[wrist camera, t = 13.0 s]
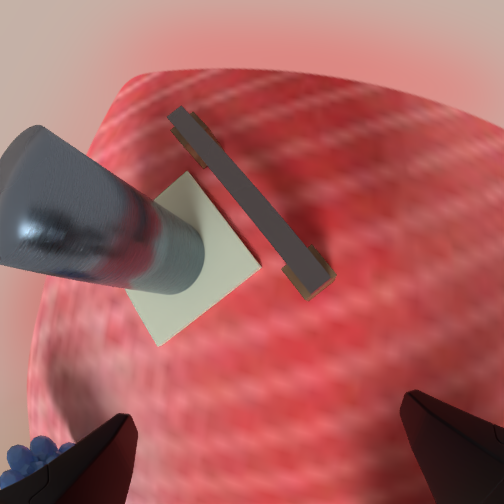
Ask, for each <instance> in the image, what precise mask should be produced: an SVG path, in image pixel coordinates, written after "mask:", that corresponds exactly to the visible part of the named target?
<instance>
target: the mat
mask: <svg viewBox="0 0 504 504" xmlns="http://www.w3.org/2000/svg"><path fill="white" fill-rule="evenodd" d="M153 201H155V202H156V203H158V204H159V205H161V206H162V207H164V208H165V209H167V210H168V211H170V212H172V213H173V214H175V215H176V216H178V217H179V218H181V219H182V220H184V221H185V222H187V223H188V224H190V225H191V226H192V227H194V228H195V229H196V230H197V231H198V233H199V234H200V236H201V238H202V241H203V244H204V249H205V259H204V265H203V268H202V271H201V273H200V275H199V277H198V278H197V280H196V281H195V282H194V283H193V284H192V285H191V286H190V287H189V288H188V289H186V290H185V291H183V292H181V293H178V294H174V295H164V294H157V293H150V292H144V291H137V290H130V289H125V290H126V292H127V294H128V296H129V298H130V300H131V301H132V303H133V305H134V307H135V309H136V311H137V312H138V314H139V316H140V318H141V319H142V321H143V323H144V325H145V326H146V328H147V330H148V331H149V333H150V335H151V336H152V338H153V340H154V341H155V343H156V345H157V346H162V345H163V344H164V343H166V342H167V341H168V340H170V339H171V338H172V337H173V336H175V335H176V334H177V333H179V332H180V331H181V330H183V329H184V328H185V327H186V326H188V325H189V324H190V323H192V322H193V321H194V320H196V319H197V318H198V317H199V316H201V315H202V314H203V313H205V312H206V311H207V310H208V309H210V308H211V307H212V306H214V305H215V304H216V303H217V302H219V301H220V300H221V299H222V298H224V297H225V296H226V295H228V294H229V293H230V292H231V291H233V290H234V289H235V288H236V287H238V286H239V285H240V284H242V283H243V282H244V281H245V280H247V279H248V278H249V277H250V276H252V275H253V274H254V273H255V272H257V271H258V270H259V269H260V268H262V267H261V265H260V264H259V263H258V262H257V260H256V259H255V258H254V256H253V255H252V254H251V252H250V251H249V250H248V249H247V247H246V246H245V245H244V243H243V242H242V241H241V239H240V238H239V237H238V235H237V234H236V233H235V232H234V230H233V229H232V228H231V226H230V225H229V224H228V222H227V221H226V220H225V218H224V217H223V216H222V215H221V213H220V212H219V211H218V209H217V208H216V207H215V205H214V204H213V203H212V201H211V200H210V199H209V198H208V196H207V195H206V194H205V192H204V191H203V190H202V188H201V187H200V186H199V184H198V183H197V182H196V181H195V179H194V178H193V177H192V175H191V174H190V173H189V172H188V171H186V172H185V173H184V174H183V175H181V176H180V177H179V178H178V179H177V180H176V181H175V182H173V183H172V184H171V185H170V186H169V187H168V188H167V189H165V190H164V191H163V192H162V193H161V194H160V195H159V196H158V197H156V198H155V199H154V200H153Z"/></svg>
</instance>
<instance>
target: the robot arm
mask: <svg viewBox="0 0 504 504" xmlns="http://www.w3.org/2000/svg"><path fill="white" fill-rule="evenodd" d="M400 416H401V419H402V422H403V425H404V428H405V431H406V434H407V437H408V440H409V443H410V445H411V448H412V451H413V453H414V455H415V457H416V459H417V461H418V464H419V466H420V468H421V470H422V472H423V474H424V477H425V479H426V481H427V483H428V485H429V488H430V490H431V492H432V494H433V497H434V499H435V501H436V504H504V428H502V427H500V426H497V425H495V424H494V425H493V424H492V423H490V422H488V421H485V420H483V419H481V418H478V417H476V416H474V415H471V414H469V413H467V412H465V411H462V410H460V409H458V408H456V407H453V406H451V405H449V404H447V403H445V402H442V401H440V400H438V399H436V398H434V397H432V396H429V395H427V394H425V393H423V392H421V391H419V390H412V391H408V392H406V393H405V395H404V398H403V401H402V404H401V407H400ZM137 440H138V431H137V429H136V426H135V424H134V421H133V419H132V417H131V415H130V414H124V413H118V414H116V415H115V416H114V417H112V418H111V419H110V420H108V421H107V422H106V423H104V424H103V425H101V426H100V427H99V428H97V429H96V430H95V431H93V432H92V433H91V434H89V435H88V436H86V437H85V438H84V439H82V440H81V441H79V442H78V443H77V444H75V445H74V446H72V447H71V448H69V449H68V450H67V451H65V452H64V453H62V454H61V455H59V456H58V457H57V458H55V459H54V460H52V461H51V462H49V463H48V464H46V465H45V466H43V467H42V468H40V469H39V470H37V471H35V472H34V473H32V474H31V475H29V476H27V477H25V478H23V479H22V480H20V481H18V482H16V483H14V484H11V485H9V486H7V487H5V488H3V489H1V490H0V504H125V502H126V498H127V494H128V490H129V486H130V482H131V478H132V474H133V468H134V461H135V454H136V447H137Z"/></svg>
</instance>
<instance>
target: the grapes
mask: <svg viewBox="0 0 504 504" xmlns="http://www.w3.org/2000/svg"><path fill="white" fill-rule="evenodd" d="M74 445H75V444H74V443H69V442H68V443H65V444H63V445H62V446H61V447H60V449H59V450H58V448H57V446H56V444H55V443H54V442H53V441H52V440H51V439H50V438H48V437H46V436H41V435H40V436H38V437H35V438H34V439H33V440H32V442H31V443H30V450H29V449H28V448H27V447H25V446H22V445H15V446H12V447H11V448H10V449H9V450H8V452H7V460H8V463H9V465H10V467H11V469H12V470H11V469H10V470H7V471H5V472H3V474H2V475H1V476H0V488H1V489H3V488H5V487H7V486H9V485H11V484H14V483H16V482H18V481H20V480H22V479H23V478H25V477H27V476H29V475H31V474H32V473H34V472H35V471H37V470H39V469H40V468H42V467H43V466H45V465H46V464H48V463H49V462H51V461H52V460H54V459H55V458H57V457H58V456H59V455H61V454H62V453H64V452H65V451H67V450H68V449H69V448H71V447H72V446H74Z"/></svg>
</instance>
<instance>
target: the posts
mask: <svg viewBox="0 0 504 504" xmlns="http://www.w3.org/2000/svg"><path fill="white" fill-rule="evenodd" d="M190 115H191V116H192V117H193V118H194V120H195V121H196V122H197V123H198V124H199V125H200V126H201V127H202V128H203V129H204V130H205V131H206V132H207V134H208V135H209V136H210V137H211V138H212V139H213V140H214V141H215V142H216V143H217V144H218V145H219V147H220V148H221V149H222V147H221V146H220V144H219V143H218V141H217V140H216V138H215V137H214V135H213V134H212V132H211V131H210V129H209V128H208V127H207V126H206V125H205V123H204V122H203V121H202V120H201V119H200V118H199V117H198V116H197V115H196V114H195V113H194V112H192V113H191V114H190ZM171 132H172V133H173V134H174V135H175V137H176V138H177V139H178V140H179V142H180V143H181V144H182V145H183V146H184V148H185V149H186V150H187V151H188V152H189V153H190V154H191V155H192V156H193V158H194V159H195V160H196V161H197V162H198V163H199V164H200V165H201V167H202V168H203V169H204V168H205V167H207V165H206V163H205V162H204V161H203V160H202V159H201V157H200V156H199V155H198V154H197V153H196V151H195V150H194V149H193V148H192V147H191V145H190V144H189V143H188V142H187V141H186V139H185V138H184V137H183V136H182V135H181V133H180V132H179V131H178V130H177V129H176V127H173V128H172V129H171ZM222 150H223V149H222ZM223 151H224V150H223ZM308 249H309V251H310V252H311V253H312V254H313V256H314V257H315V258H316V259H317V261H318V262H319V263H320V264H321V265H322V267H323V268H324V269H325V270H326V272H327V273H328V274H329V275H330V277H331V280H330V281H329V282H327V283H326V284H325V285H324V286H323V287H321V288H320V289H319V290H318V291H316V292H315V293H314V294H313V295H311V294H310V293H309V291H308V290H307V289H306V288H305V286H304V285H303V284H302V282H301V281H300V280H299V279H298V277H297V276H296V275H295V274H294V272H293V271H292V270H291V268H290V267H289V266H288V265H285V266H284V267H283V268H282V269H281V270H282V271H283V272H284V273H285V275H286V276H287V277H288V279H289V280H290V281H291V282H292V284H293V285H294V286H295V288H296V289H297V290H298V291H299V293H300V294H301V295H302V297H303V298H304V299H305V300H306V301H310V300H311V299H312V298H314V297H315V296H316V295H317V294H319V293H320V292H321V291H322V290H324V289H325V288H326V287H327V286H329V285H330V284H331V283H332V282H333V281H334V280H335V278H336V276H337V274H336V273H335V272H334V271H333V269H332V268H331V267H330V266H329V264H328V263H327V262H326V261H325V260H324V258H323V257H322V256H321V255H320V253H319V252H318V251H317V250H316V249H315V247H314V246H313V245H312V244H311V245H310V246H309V247H308Z"/></svg>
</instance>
